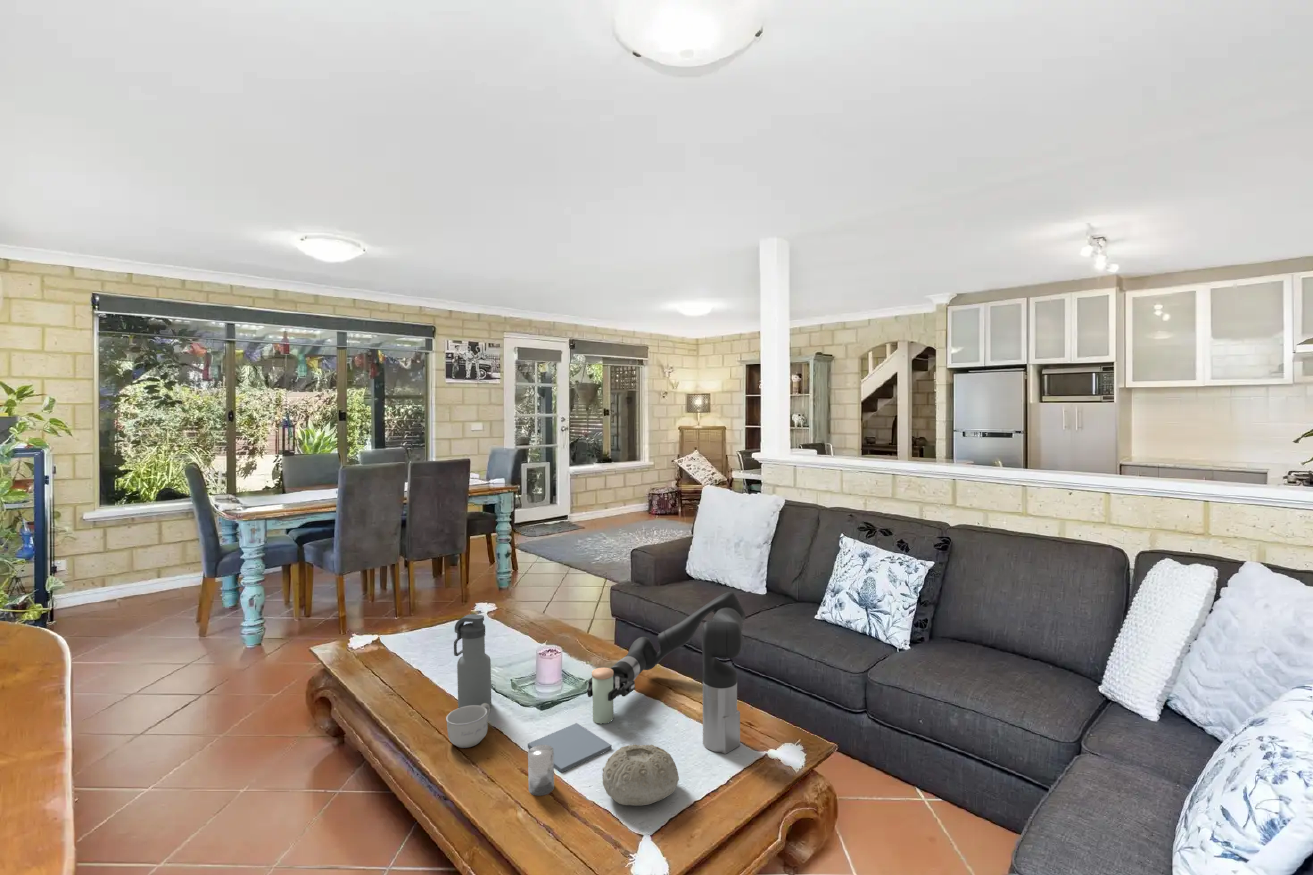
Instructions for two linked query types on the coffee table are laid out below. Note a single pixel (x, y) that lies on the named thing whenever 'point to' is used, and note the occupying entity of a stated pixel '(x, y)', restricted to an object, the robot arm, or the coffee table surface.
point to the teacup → (468, 725)
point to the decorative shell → (640, 775)
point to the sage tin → (602, 695)
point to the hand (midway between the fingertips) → (598, 695)
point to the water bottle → (472, 662)
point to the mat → (572, 746)
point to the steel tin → (541, 770)
